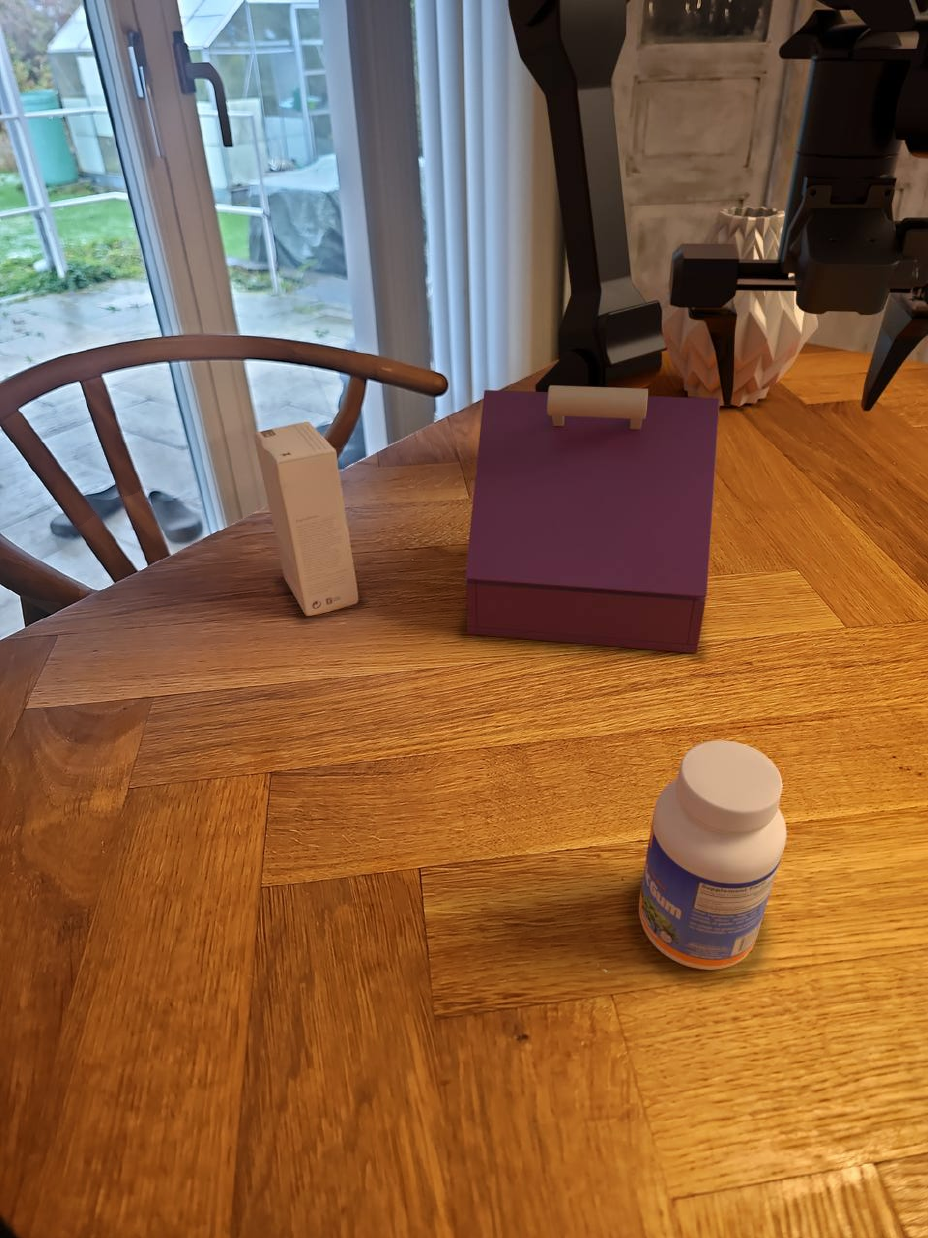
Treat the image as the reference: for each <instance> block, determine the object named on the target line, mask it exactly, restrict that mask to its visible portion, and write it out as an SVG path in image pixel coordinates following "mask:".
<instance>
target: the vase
mask: <svg viewBox="0 0 928 1238" xmlns="http://www.w3.org/2000/svg"><path fill="white" fill-rule="evenodd" d="M784 217H785V210H777V207H773V208H772V207H771V208H767V207H765V206H757V207H753V206H749V205H746V206H744V207H737V206H732V207H731V208H722V209H721V210H719V211H718V212H717V215H716V218H715V221H714V222H713V223H712V224H710V225H709V227H708V228H707V231H706V234H705V235H704V237H703V238H702V239H701V240H700V241H699V242H698V243H697V244H734V246H735V249H736V252H737V254H738V257H739V259H775V260H777V257H778V251H779V246H780V240H781V234H782V228H783V223H784ZM791 276H794V273H789V276H788V277H791ZM733 301H734V305H735V308H736V312H737V322H736V330H735V352H734V385H733V392H732V398H731V403H730V406H734V407H741V406H743V405H745V404H747V405H748V404H750V405H756V404H757V403H758V400H761V399H766V397H767V395H768V392H769V389H770V387H772V386H774V385H776V384H777V383H778V382H779V381H780V380H781V378H782V377H784V375H785V374H786V372H788V370H789V369H790V368H791V366H793V365H794V363H795V360H796V359H797V357H798V356H799V354H800V353H801V350H802V349H803V347H804V345H805V344H806V343H807V341H808V340H809V339H810V338H811V336H812V335H813V334H814V333H815V331H816V330H817V329H818V327H819V322H818V316H817V314H810V313H806V312H804V311H802V310H801V309H799V308H798V306H797V304H796V291H745V290H736V295H735V297H733ZM660 305H661V308H662V332H663V337H664V340H665V343H666V345H667V350H666V351H667V354H668V356H669V359H670V361H671V364H672V367H673V370H674V372H675V375H676V376H677V377H679V378H680V379H681V380H683V390H684V391H685V392H687V397H689V398H716V399H720V404H719V407H722V406H724V402H723V396H722V390H721V384H720V378H719V372H718V366H717V360H716V354H715V350H714V346H713V343H712V340H711V337H710V334H709V331H708V328H707V326H706V323H705V321H700V320H693V319H691V318H689V314H688V308H679V307H675V306H672V305H670V297H669V292H668V293H667V295H666V296H665V298H664V299H663V301H662V303H661V304H660Z"/></svg>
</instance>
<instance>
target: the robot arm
mask: <svg viewBox="0 0 928 1238" xmlns="http://www.w3.org/2000/svg"><path fill="white" fill-rule="evenodd" d="M630 1H631V0H507V6H508V7H507V8H508V14H509V17H510V21H511V26H512V30H513V34H514V38H515V43H516V46H517V50H518V55H519V58H520V60H521V61H522V63H523V65H524V66H525V68H526V69H527V71H528V73H529V74H530V76H531V77H532V79H534V81H535V83H536V85H538V88H540V90H541V92H542V93H543V95H544V98H545V103H546V109H547V116H548V124H549V132H550V140H551V147H552V148H551V149H552V155H553V162H554V171H555V178H556V179H555V180H556V187H557V193H558V201H559V208H560V209H559V210H560V217H561V224H562V232H563V238H564V239H563V240H564V247H565V255H566V261H567V262H566V263H567V271H568V279H569V286H570V295H569V299H568V301H567V305H566V308H565V311H564V313H563V316H562V319H561V322H560V325H559V327H558V331H557V342H558V345H557V347H558V361H556V363H555V364H554V365H553V366H552V367H551V368H550V369H549V370H548V372H547V373H545V374H544V375H543V376H542V378H540V380H538V381H537V382H536V383H535V386H534V390H535V392H548V390H549V386H551V385H554V386H582V387H610V388H639V389H648V390H649V387H650V384H652V383H653V382H654V380H655V378H656V377H657V375H658V374H659V373H661V370H662V365H663V352H665V351H668V350H667V345H666V342H665V339H664V336H663V332H662V308H661V305H662V304H661V302H660V300H658V299H654V300H651V301H646V300H645V298H644V297H643V295H642V294H641V292H640V291H639V289H638V288H637V286H636V285H635V284H634V282H633V277H632V269H631V261H630V252H629V251H630V250H629V241H628V232H627V222H626V212H625V203H624V194H623V183H622V174H621V165H620V155H619V145H618V136H617V125H616V116H615V108H614V107H615V106H614V97H613V88H612V87H613V85H612V84H613V83H612V81H613V80H612V79H613V76H614V73H615V70H616V67H617V64H618V61H619V58H620V56H621V52H622V50H623V47H624V44H625V41H626V38H627V16H628V15H627V12H628V9H627V8H628V7H627V6H628V4H629V3H630ZM815 1H817V2H818V3H820V4H821V5H824V6H825V7H827V8H823V9H822V8H821V9H820V8H819V9H818V8H817V9H815V10H813V11H812V12H811V14H810V16H809V17H808V19H807V20H806V21H805V23H804V24H803V25H802V26H801V27H800V28H799V29H798V30H797V31H796V32H794V33H793V34H792V35H791V36H789V38H788V39H787V40H786V41H784V42H783V43H782V44H781V46H780V47H779V48H778V56H779V58H780V59H781V60H811V62H810V67H809V73H808V78H807V85H806V90H805V97H804V102H803V107H802V112H801V118H800V123H799V124H800V125H799V130H798V137H797V142H796V148H795V150H796V151H795V154H794V160H793V165H792V172H791V177H790V183H789V188H788V195H787V200H786V207H785V210H784V212H785V217H784V223H783V228H782V234H781V240H780V246H779V251H778V257H777V260H775V259H739V257H738V254H737V252H736V249H735V246H734V244H698V243H681V244H680V245H679V246H678V247H677V248H676V249H675V250H674V251H673V252H672V254H671V261H670V270H669V279H668V293H669V297H670V305H672V306H675V307H679V308H688V314H689V318H691V319H693V320H700V321H705V323H706V326H707V328H708V331H709V334H710V337H711V340H712V343H713V346H714V350H715V354H716V360H717V366H718V372H719V378H720V384H721V390H722V396H723V402H724V405H723V406H724V407H730V406H731V405H730V403H731V398H732V392H733V385H734V352H735V330H736V322H737V312H736V308H735V305H734V301H733V297H735V295H736V290H745V291H796V304H797V306H798V308H799V309H801V310H802V311H804V312H806V313H810V314H816V315H825V314H826V313H827V312H837V313H838V312H841V313H857V314H858V315H859V316H873V315H877V314H879V313H881V312H882V311H883V310H884V309H885V310H884V313H883V317H882V320H881V324H880V327H879V331H878V335H877V337H876V341H875V345H874V348H873V352H872V355H871V358H870V362H869V366H868V369H867V372H866V376H865V380H864V384H863V389H862V395H861V402H860V407H861V409H862V411H863V412H870V411H871V410H872V409H873V408H874V406H875V404H876V403H877V401H878V400H879V398H880V397H881V396H882V394H883V393H884V392H885V390H886V388H887V387H888V385H889V384H890V383H891V381H892V380H893V378H894V377H895V375H896V374H897V372H898V371H899V369H900V368H901V366H902V365H903V363H904V362H905V361H906V359H907V358H908V357H909V356H910V355H911V353H912V352H913V351H914V350H915V349H916V348H917V346H918V345H919V344H920V343H921V342H922V341H923V340H924V339H925V338H926V337H928V217H925V216H924V217H919V216H917V217H914V216H913V217H911V216H908V217H903V218H902V219H901V220H894V210H893V202H894V198H895V194H896V189H895V188H896V185H897V184H896V183H897V179H898V177H896V176H895V175H896V174H895V173H896V170H897V167H898V166H897V165H898V161H899V158H900V153H901V148H902V144H903V141H904V143H905V146H906V149H907V151H908V153H909V154H910V155H911V156H912V157H914V158H917V159H924V160H928V0H815ZM841 11H853V12H854V13H855V14H856V16H857V17H858V18H859V19H860V20H861V21H862V22H863V23H848V22H847V21H846V20H845V18H844V16H843V14H842V13H841ZM911 32H917V34H918V39H917V43H916V46H914V45H913V46H911V45H910V46H909V45H903V44H902V41H901V38H900V35H899V33H911ZM789 273H794V276H791V277H788V276H789Z"/></svg>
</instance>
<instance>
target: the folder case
mask: <svg viewBox="0 0 928 1238" xmlns="http://www.w3.org/2000/svg"><path fill="white" fill-rule="evenodd" d="M465 601H466V602H465V603H466V630H467V635H476V636H485V637H499V638H510V639H519V640H520V639H522V640H533V641H546V642H556V643H558V642H559V643H568V644H579V645H580V644H582V645H592V646H593V645H594V646H604V647H615V648H618V647H619V648H628V649H640V650H650V651H651V650H652V651H664V652H674V653H689V654H697V653H698V649H699V644H700V638H701V637H700V636H701V632H702V631H701V630H702V624H703V619H704V613H705V606H706V597H705V598H704V597H690V596H676V595H663V594H649V593H636V592H622V591H609V590H595V589H582V588H568V587H555V586H541V585H528V584H514V583H501V582H487V581H474V580H466V582H465Z"/></svg>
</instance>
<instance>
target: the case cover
mask: <svg viewBox="0 0 928 1238" xmlns="http://www.w3.org/2000/svg"><path fill="white" fill-rule="evenodd" d="M719 404H720V399H716V398H692V397H688V396H687V397H686V396H685V397H683V396H659V395H649V388H648V389H639V388H610V387H582V386H554V385H551V386H549V390H548V392H536V391H526V390H525V391H523V390H522V391H521V390H497V389H493V390H492V389H484V391H483V401H482V410H481V420H480V429H479V439H478V447H477V448H478V450H477V457H476V458H477V459H476V466H475V467H476V468H475V477H474V478H475V479H474V488H473V496H472V497H473V498H472V507H471V517H470V527H469V536H468V545H467V546H468V547H467V555H466V565H465V573H464V574H465V576H464V579H465V580H466V581H467V580H474V581H487V582H501V583H514V584H528V585H541V586H555V587H568V588H582V589H595V590H609V591H622V592H636V593H649V594H663V595H676V596H690V597H704V598H705V599H706V598H707V596H708V581H709V567H710V565H709V564H710V552H711V537H712V521H713V508H714V490H715V479H716V477H715V476H716V465H717V464H716V461H717V447H718V433H719V431H718V430H719V418H720V417H719V416H720V406H719Z"/></svg>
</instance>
